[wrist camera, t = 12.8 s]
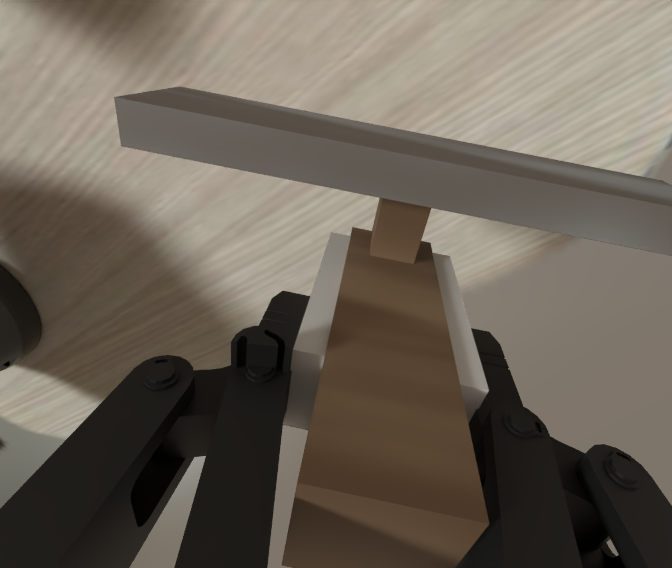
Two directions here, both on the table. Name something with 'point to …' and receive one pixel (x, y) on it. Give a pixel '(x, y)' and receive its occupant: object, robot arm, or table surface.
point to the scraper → (393, 307)
